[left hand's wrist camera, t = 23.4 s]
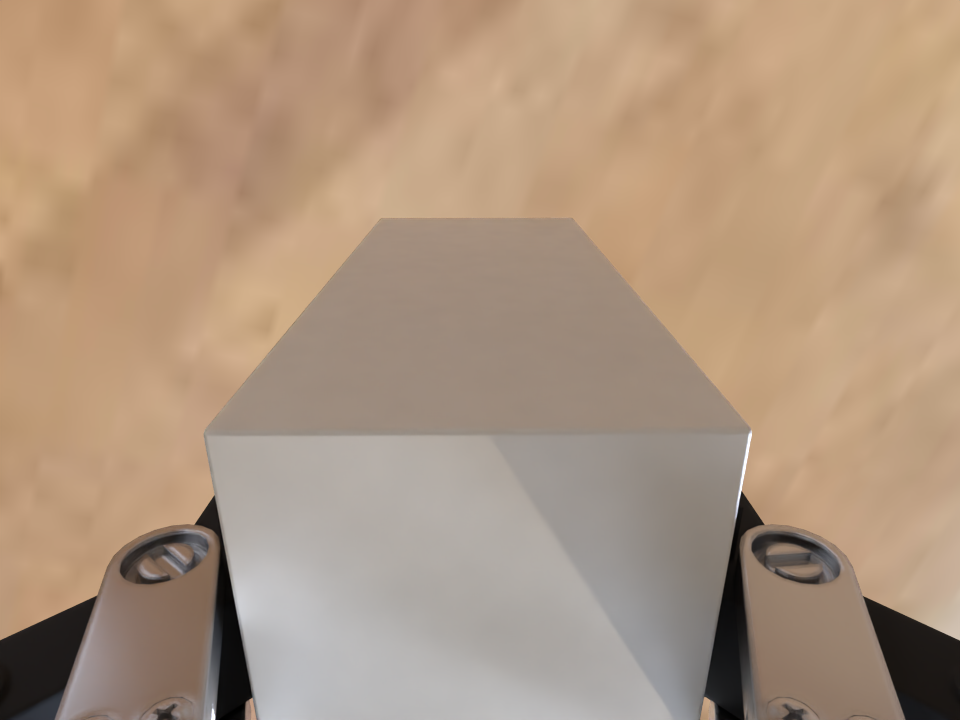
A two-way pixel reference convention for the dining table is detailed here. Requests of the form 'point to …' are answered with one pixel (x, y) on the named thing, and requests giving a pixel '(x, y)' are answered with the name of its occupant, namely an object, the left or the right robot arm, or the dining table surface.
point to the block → (477, 489)
